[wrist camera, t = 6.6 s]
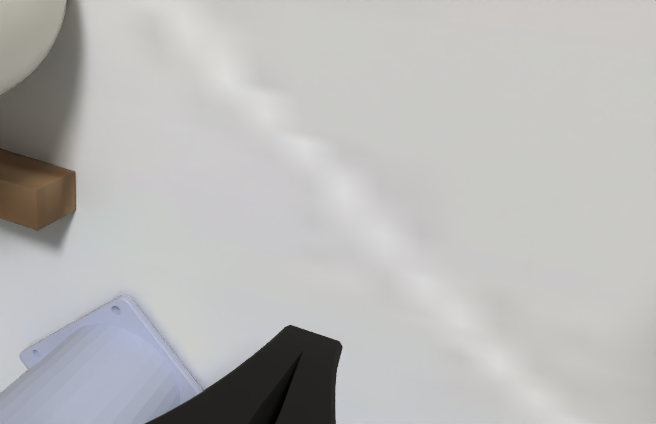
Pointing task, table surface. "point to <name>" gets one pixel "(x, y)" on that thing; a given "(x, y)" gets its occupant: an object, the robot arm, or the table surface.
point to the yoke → (34, 191)
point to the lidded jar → (26, 36)
